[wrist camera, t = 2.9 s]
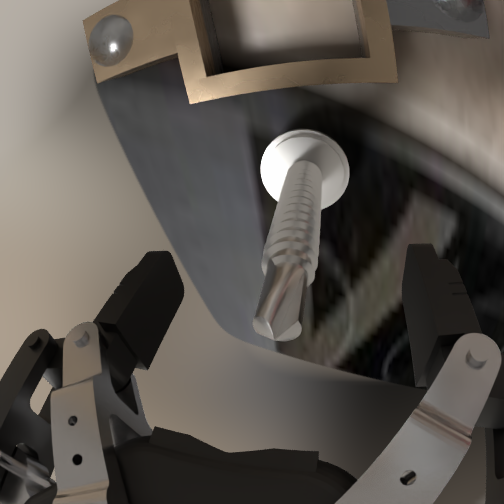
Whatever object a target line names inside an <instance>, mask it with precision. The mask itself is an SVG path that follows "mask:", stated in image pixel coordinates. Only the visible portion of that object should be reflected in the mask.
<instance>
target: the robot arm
mask: <svg viewBox="0 0 504 504" xmlns="http://www.w3.org/2000/svg"><path fill="white" fill-rule="evenodd" d="M183 297H184V285H183V282H182V280H181V277H180V275H179V272H178V270H177V267H176V265H175V262H174V260H173V257H172V255H171V253H170V252H168V251H149V252H147V253H146V254H145V256H144V257H143V258H142V260H141V261H140V262H139V264H138V265H137V266H136V267H134V268H133V269H132V270H131V271H130V272H128V273H127V274H126V275H125V277H124V278H123V279H122V281H121V282H120V285H119V286H117V288H116V289H115V291H114V294H112V295H111V296H110V298H109V299H108V301H107V302H106V303H105V305H104V306H103V308H102V309H101V311H100V312H99V314H98V315H97V317H96V318H95V319H94V321H93V322H84V323H81V324H79V325H77V326H75V327H74V328H73V329H72V330H71V331H70V332H69V333H68V334H67V336H66V338H60V339H53V337H52V336H51V335H50V334H49V333H48V331H47V330H45V329H39V330H36V331H34V332H33V333H32V334H30V335H29V336H28V337H27V339H26V340H25V341H24V343H23V345H22V346H21V348H20V349H19V351H18V352H17V354H16V355H15V357H14V359H13V360H12V362H11V364H10V365H9V367H8V369H7V370H6V372H5V374H4V375H3V377H2V379H1V381H0V504H433V503H434V501H435V500H436V498H437V497H438V496H439V494H440V493H441V491H442V490H443V489H444V487H445V486H446V484H447V483H448V481H449V479H450V478H451V476H452V475H453V473H454V472H455V470H456V469H457V467H458V465H459V463H460V462H461V460H462V459H463V457H464V455H465V453H466V452H467V450H468V448H469V446H470V443H471V440H472V437H471V436H470V434H471V432H472V429H473V427H474V426H479V427H485V439H486V467H487V468H486V502H485V504H504V354H503V353H500V350H499V348H498V346H497V345H496V343H495V342H494V341H493V340H492V339H490V338H489V337H487V336H485V335H483V334H482V332H481V329H480V326H479V324H478V321H477V318H476V315H475V312H474V310H473V307H472V304H471V302H470V299H469V297H468V295H467V292H466V289H465V287H464V284H462V279H461V277H460V275H459V273H458V270H457V269H456V268H455V267H454V266H453V265H452V264H451V263H450V262H449V261H448V260H447V259H438V256H437V254H436V252H435V249H434V247H433V245H432V244H431V243H430V244H409V245H408V248H407V255H406V262H405V269H404V275H403V281H402V300H403V306H404V311H405V316H406V321H407V327H408V333H409V339H410V345H411V352H412V359H413V367H414V375H415V384H416V387H420V386H427V393H426V395H425V396H424V398H423V399H422V401H421V403H420V404H419V405H418V407H416V409H415V410H414V411H413V413H412V414H411V416H410V417H409V418H408V420H407V421H406V422H405V424H404V425H403V427H402V428H401V429H400V431H399V432H398V433H397V435H396V436H395V437H394V439H393V440H392V441H391V442H390V444H389V445H388V446H387V447H386V449H385V450H384V451H383V452H382V453H381V455H380V456H379V457H378V458H377V459H376V460H375V462H374V463H373V464H372V465H371V466H370V467H369V469H368V470H367V471H366V472H365V473H364V474H363V475H362V476H361V477H360V478H359V479H358V480H357V479H356V478H355V477H353V476H352V475H351V474H349V473H348V472H347V471H345V470H343V469H341V468H340V467H338V466H335V465H333V464H331V463H328V462H324V461H321V460H319V452H318V451H298V450H285V449H267V450H257V451H246V452H235V453H234V452H233V453H228V452H224V451H222V450H219V449H217V448H215V447H213V446H211V445H208V444H207V443H204V442H202V441H200V440H198V439H196V438H194V437H192V436H191V435H188V434H183V433H179V432H175V431H171V430H167V429H163V428H159V427H156V426H155V427H154V430H153V431H152V429H151V428H150V426H149V425H148V423H147V420H146V418H145V414H144V410H143V406H142V403H141V399H140V395H139V390H138V386H137V382H136V378H135V376H134V375H133V371H134V369H135V368H139V369H143V370H148V369H149V367H150V365H151V363H152V361H153V358H154V356H155V354H156V352H157V350H158V348H159V346H160V344H161V342H162V340H163V338H164V336H165V334H166V332H167V330H168V328H169V326H170V324H171V322H172V320H173V318H174V316H175V314H176V312H177V310H178V308H179V306H180V304H181V302H182V300H183ZM42 376H43V377H44V378H45V379H46V380H47V381H48V382H49V383H50V384H51V385H52V386H53V388H52V389H51V391H50V394H49V395H48V397H47V399H46V401H45V403H44V405H43V407H42V409H41V412H40V413H39V415H37V414H36V413H35V412H33V411H32V409H31V407H30V398H31V396H32V394H33V393H34V391H35V389H36V387H37V385H38V383H39V381H40V380H41V378H42ZM16 445H17V446H16ZM54 467H55V475H56V482H55V481H54V480H53V479H51V478H50V477H51V475H52V472H53V469H54Z"/></svg>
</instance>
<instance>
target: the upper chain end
mask: <svg viewBox="0 0 504 504" xmlns="http://www.w3.org/2000/svg"><path fill="white" fill-rule="evenodd" d="M356 3H357V8H358V13H359V18H360V23H361V29H362V35H363V41H364V47H365V54H366V58H342V59H323V60H310V61H300V62H291V63H282V64H275V65H267V66H261V67H255V68H249V69H243V70H238V71H232V72H227V73H223V74H218V75H216V72H215V67H214V63H213V58H212V54H211V49H210V45H209V41H208V36H207V32H206V27H205V23H204V19H203V14H202V10H201V5H200V1H199V0H119V1H117V2H115V3H113V4H111V5H109V6H108V7H106V8H104V9H102V10H100V11H99V12H97V13H95V14H93V15H92V16H90V17H88V18H86V19H85V20H83V24H84V29H85V34H86V38H87V43H88V47H89V51H90V56H91V60H92V64H93V68H94V72H95V76H96V80H97V83H100V82H104V81H107V80H111V79H115V78H119V77H123V76H126V75H129V74H131V73H134V72H137V71H139V70H142V69H145V68H148V67H150V66H153V65H156V64H159V63H162V62H165V61H168V60H171V59H175V58H178V57H179V61H180V66H181V70H182V74H183V78H184V82H185V86H186V90H187V94H188V98H189V102H190V104H193V103H197V102H202V101H207V100H211V99H216V98H222V97H227V96H232V95H238V94H244V93H250V92H257V91H264V90H271V89H279V88H288V87H297V86H308V85H321V84H338V83H398V76H397V66H396V58H395V50H394V43H393V36H392V29H391V23H390V18H389V12H388V7H387V2H386V0H356Z"/></svg>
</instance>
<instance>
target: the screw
mask: <svg viewBox="0 0 504 504" xmlns="http://www.w3.org/2000/svg"><path fill="white" fill-rule="evenodd" d="M261 176H262V180H263V183H264V185H265V187H266V189H267V191H268V192H269V193H270V194H271V196H272V197H273V198H274V199H275V200H277V201H278V204H277V207H276V211H275V214H274V217H273V220H272V225H271V227H270V231H269V234H268V237H267V242H266V244H265V247H264V255H263V258H262V270H263V272H264V275H265V279H264V283H263V287H262V290H261V294H260V298H259V301H258V305H257V309H256V312H255V316H254V320H253V327H254V329H255V331H256V332H257V333H258V334H261V335H263V336H265V337H268V338H270V339H273V340H277V341H288V340H292V339H295V338H297V337H298V336H299V335H300V333H301V330H302V322H303V314H304V306H305V298H306V290H307V286H309V285H310V284H311V283H312V282H313V280H314V277H315V270H316V268H317V266H318V259H317V258H318V255H319V248H318V247H319V241H320V240H319V236H320V219H321V214H320V213H321V209H324V208H326V207H328V206H330V205H332V204H333V203H334V202H336V201H337V200H338V199H339V198H340V197H341V195H342V194H343V193H344V191H345V189H346V187H347V185H348V180H349V164H348V161H347V157H346V155H345V153H344V151H343V149H342V148H341V146H340V145H339V144H338V143H337V142H336V141H335V140H334V139H333V138H331V137H330V136H328V135H327V134H325V133H322V132H320V131H318V130H313V129H294V130H290V131H287V132H285V133H283V134H281V135H279V136H278V137H277V138H275V139H274V140H273V141H272V142H271V143H270V145H269V146H268V147H267V149H266V151H265V153H264V155H263V157H262V162H261Z"/></svg>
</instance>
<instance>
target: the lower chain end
mask: <svg viewBox="0 0 504 504" xmlns="http://www.w3.org/2000/svg"><path fill="white" fill-rule="evenodd" d="M199 1H200V5H201V10H202V14H203V19H204V23H205V27H206V32H207V36H208V41H209V45H210V49H211V54H212V58H213V63H214V67H215V72H216V75H218V74H223V73H224V68H223V64H222V59H221V55H220V50H219V46H218V42H217V37H216V33H215V28H214V24H213V19H212V15H211V11H210V6H209V2H208V0H199ZM352 2H353V7H354V12H355V17H356V22H357V28H358V33H359V40H360V46H361V52H362V58H366V54H365V47H364V41H363V35H362V29H361V23H360V18H359V13H358V8H357V3H356V0H352ZM386 2H387V7H388V12H389V18H390V23H391V29H392V30H401V31H415V32H425V33H434V34H442V35H449V36H455V37H461V38H486V39H490V38H489V31H488V24H487V18H486V12H485V6H484V1H483V0H386ZM336 59H342V58H336ZM320 60H323V59H320ZM308 61H310V60H308ZM297 62H300V61H297ZM288 63H291V62H288ZM280 64H282V63H280ZM273 65H275V64H273ZM266 66H267V65H266ZM259 67H261V66H259ZM253 68H255V67H253ZM247 69H249V68H247ZM242 70H243V69H242ZM236 71H238V70H236ZM231 72H232V71H231ZM226 73H227V72H226Z"/></svg>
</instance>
